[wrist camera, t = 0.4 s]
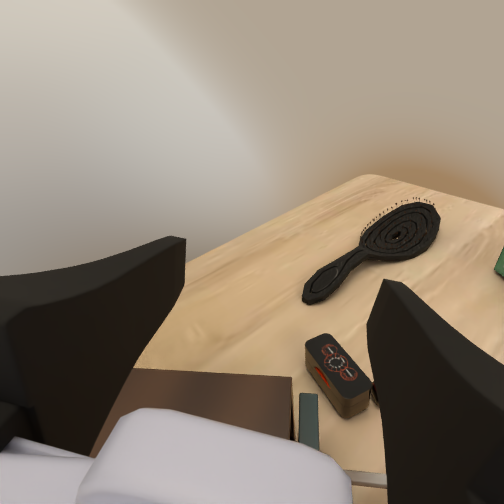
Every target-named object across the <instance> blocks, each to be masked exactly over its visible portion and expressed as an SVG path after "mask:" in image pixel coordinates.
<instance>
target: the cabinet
mask: <svg viewBox="0 0 504 504" xmlns="http://www.w3.org/2000/svg"><path fill="white" fill-rule="evenodd" d="M140 408H158V409H171V410H175V411H179V412H183V413H187V414H190V415H194V416H198V417H202V418H206V419H210V420H214V421H217V422H221V423H225V424H229V425H233V426H237V427H241V428H245V429H248V430H252V431H256V432H260V433H264V434H268V435H272V436H275V437H279V438H283V439H287V440H291V441H295V422H294V405H293V389H292V377H281V376H264V375H246V374H229V373H211V372H194V371H176V370H159V369H141V368H133V369H132V371H131V372H130V374H129V376H128V378H127V380H126V382H125V383H124V385H123V387H122V389H121V391H120V393H119V395H118V397H117V399H116V401H115V403H114V405H113V407H112V409H111V411H110V413H109V415H108V417H107V419H106V421H105V423H104V425H103V427H102V429H101V432H100V434H99V436H98V438H97V440H96V442H95V444H94V446H93V449H92V451H91V453H90V455H89V457H91V458H96V457H97V455H98V454H99V452H100V450H101V449H102V447H103V445H104V444H105V442H106V440H107V439H108V437H109V435H110V434H111V432H112V430H113V429H114V427H115V425H116V424H117V422H118V420H119V419H120V417H122V416H124V415H127V414H129V413H131V412H133V411H136V410H138V409H140Z"/></svg>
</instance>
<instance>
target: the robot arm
mask: <svg viewBox="0 0 504 504" xmlns="http://www.w3.org/2000/svg"><path fill="white" fill-rule="evenodd" d="M185 257H186V239H184V238H179V237H174V236H167V237H164V238H161V239H158V240H155V241H153V242H150V243H147V244H145V245H142V246H139V247H137V248H134V249H131V250H129V251H126V252H123V253H119V254H117V255H113V256H110V257H107V258H104V259H101V260H97V261H94V262H90V263H86V264H81V265H77V266H73V267H68V268H63V269H56V270H50V271H44V272H38V273H30V274H21V275H10V276H0V504H353V500H352V487H351V478H350V477H349V476H348V475H347V474H346V473H345V472H344V470H343V469H342V468H341V467H340V466H339V465H338V464H337V463H336V462H335V460H334V459H333V458H331V457H330V456H329V455H327V454H325V453H322V452H320V451H318V450H316V449H314V448H311V447H309V446H307V445H305V444H302V443H299V442H295V441H291V440H287V439H283V438H279V437H275V436H272V435H268V434H264V433H260V432H256V431H252V430H248V429H245V428H241V427H237V426H233V425H229V424H225V423H221V422H217V421H214V420H210V419H206V418H202V417H198V416H194V415H190V414H187V413H183V412H179V411H175V410H171V409H158V408H140V409H138V410H136V411H133V412H131V413H129V414H127V415H124V416H122V417H120V419H119V420H118V422H117V424H116V425H115V427H114V429H113V430H112V432H111V434H110V435H109V437H108V439H107V440H106V442H105V444H104V445H103V447H102V449H101V450H100V452H99V454H98V455H97V457H96V458H91V457H89V455H90V453H91V451H92V449H93V446H94V444H95V442H96V440H97V438H98V436H99V434H100V432H101V429H102V427H103V425H104V423H105V421H106V419H107V417H108V415H109V413H110V411H111V409H112V407H113V405H114V403H115V401H116V399H117V397H118V395H119V393H120V391H121V389H122V387H123V385H124V383H125V382H126V380H127V378H128V376H129V374H130V372H131V371H132V369H133V367H134V365H135V363H136V361H137V360H138V358H139V356H140V355H141V353H142V352H143V350H144V349H145V347H146V346H147V344H148V343H149V341H150V340H151V339H152V337H153V336H154V334H155V333H156V331H157V330H158V329H159V327H160V326H161V324H162V323H163V321H164V320H165V318H166V317H167V316H168V314H169V313H170V311H171V310H172V308H173V307H174V305H175V303H176V301H177V299H178V297H179V295H180V293H181V291H182V289H183V287H184V283H185ZM366 325H367V345H368V353H369V358H370V363H371V368H372V373H373V378H374V382H375V387H376V392H377V397H378V401H379V406H380V412H381V418H382V428H383V438H384V449H385V463H386V476H387V495H388V504H504V365H503V364H501V363H500V362H498V361H497V360H496V359H494V358H493V357H491V356H490V355H488V354H487V353H486V352H484V351H483V350H481V349H480V348H479V347H477V346H476V345H474V344H473V343H472V342H470V341H469V340H468V339H467V338H465V337H464V336H463V335H462V334H460V333H459V332H458V331H457V330H456V329H454V328H453V327H452V326H451V325H450V324H448V323H447V322H446V321H445V320H444V319H443V318H441V317H440V316H439V315H438V314H437V313H436V312H435V311H434V310H433V309H431V308H430V307H429V306H428V305H427V304H426V303H425V302H424V301H423V300H422V299H421V298H419V297H418V296H417V295H416V294H415V293H414V292H413V291H412V290H411V289H409V288H408V287H407V286H406V285H405V284H403V283H402V282H397V281H392V280H387V279H383V282H382V284H381V287H380V290H379V292H378V295H377V298H376V300H375V303H374V306H373V308H372V311H371V314H370V316H369V319H368V322H367V324H366Z"/></svg>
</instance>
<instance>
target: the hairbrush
mask: <svg viewBox="0 0 504 504" xmlns="http://www.w3.org/2000/svg"><path fill="white" fill-rule="evenodd" d="M413 199H414V197H413ZM419 199H420V198H419ZM416 200H417V197H416ZM424 200H425V199H424ZM405 201H406V200H405ZM407 201H408V200H407ZM419 201H420V200H419ZM426 201H427V199H426ZM401 202H402V201H401ZM429 202H430V201H429ZM395 204H396V205H397V203H395ZM433 205H434V203H433ZM433 205H430V204H426V203H422V202H415V203H410V204H405V205H401V206H400V207H398V208H396V209H395V210H392V211H391V212H390V213H388V214H386V215H384V216H383V217H382V218H381V217H380V219H379V220H378V221H377V222H375V223H374V224H373V225H372V226H371V227H370V226H369V228H368V229H367V230H365V233H364V234H363V233H362V234H361V236H360V242H359V246H358V247H356V248H355V249H353V250H352V251H350V252H348V253H347V254H345V255H343V256H342V257H340V258H338V259H336V260H335V261H333V262H331V263H329V264H328V265H326V266H324V267H322V268H321V269H319V270H318V271H317V272H316V273H315V274H314V275H313V276H312V277H311V278H310V279H309V280H308V281H307V282H306V283H305V285H304V290H303V294H302V301H303V302H305V303H306V304H308V305H311V304H314V303H317V302H320V301H323V300H325V299H326V298H327V297H328V296H329V295H331V294H332V293H333V292H334V291H335V290H336V289H337V288H339V286H340V285H341V284H342V282H343V281H344V280H345V278H346V277H347V276H348V274H349V273H350V272H351V271H352V270H353V269H354V268H356V267H357V266H358V265H360V264H361V263H362V262H363V261H365V260H366V259H371V260H380V261H402V260H406V259H411V258H414V257H416V256H418V255H419V254H421V253H423V252H424V251H426V250H427V249H428V248H429V246H430V245H431V244H432V243H433V241H434V240H435V239H436V235H437V233H438V231H439V226H440V220H441V218H440V216H439V214H438V213H437V211H436V208H434V207H433ZM391 208H392V207H391ZM387 210H388V209H387ZM383 213H384V211H383ZM379 215H381V214H379ZM376 218H377V216H376ZM374 221H375V220H374ZM374 221H373V222H374ZM370 224H371V222H370ZM367 226H368V224H367ZM365 228H366V227H365ZM426 228H427V232H426ZM363 231H364V229H363ZM425 232H426V235H425ZM407 233H408V235H407ZM415 234H416V235H415ZM397 235H398V236H399V237H398V239H396V238H395V239H394V240H392V238H394V237H396V236H397ZM424 235H425V237H424ZM366 241H367V243H366ZM365 243H366V246H365ZM311 289H312V290H311ZM311 292H312V293H311Z"/></svg>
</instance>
